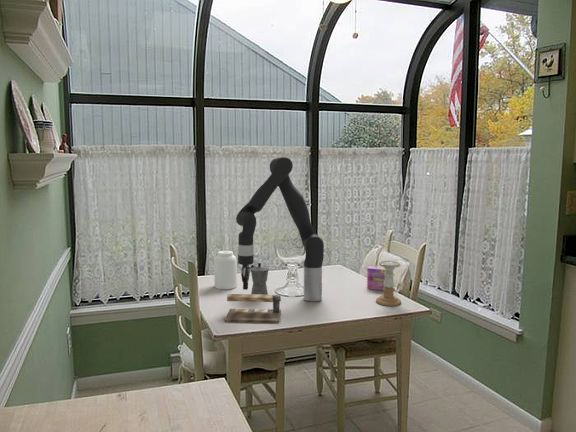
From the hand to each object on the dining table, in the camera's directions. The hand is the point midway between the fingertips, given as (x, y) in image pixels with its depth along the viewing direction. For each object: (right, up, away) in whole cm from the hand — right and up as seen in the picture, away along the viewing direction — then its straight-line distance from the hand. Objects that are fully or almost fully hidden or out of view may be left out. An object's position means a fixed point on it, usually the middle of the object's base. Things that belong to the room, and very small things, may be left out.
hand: (245, 289), depth 232 cm
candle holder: (+71, -9, +11) cm, 72 cm away
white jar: (-14, -5, +37) cm, 40 cm away
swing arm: (+5, -4, -8) cm, 10 cm away
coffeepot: (+5, -7, +20) cm, 22 cm away
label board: (+5, -11, -11) cm, 17 cm away
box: (+70, -5, +36) cm, 79 cm away
